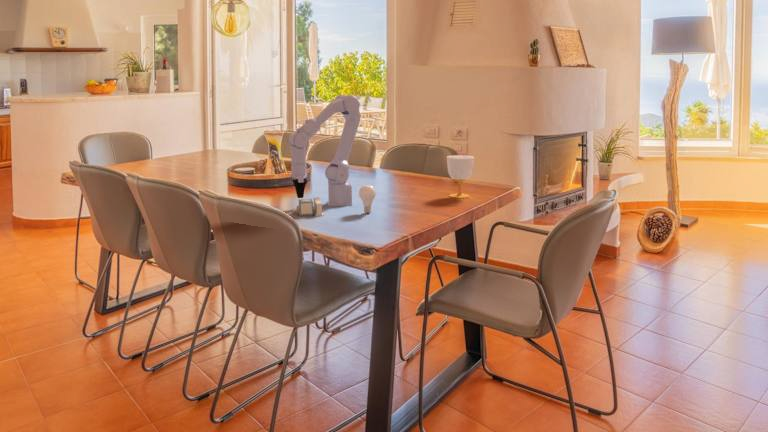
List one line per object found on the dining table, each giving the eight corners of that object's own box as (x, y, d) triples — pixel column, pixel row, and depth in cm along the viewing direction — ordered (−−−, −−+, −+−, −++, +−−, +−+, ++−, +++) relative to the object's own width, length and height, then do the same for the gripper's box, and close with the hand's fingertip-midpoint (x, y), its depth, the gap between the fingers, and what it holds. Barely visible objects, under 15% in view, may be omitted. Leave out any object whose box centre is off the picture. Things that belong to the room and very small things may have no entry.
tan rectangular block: (320, 210, 248) (320, 197, 247) (323, 216, 237) (323, 203, 236) (312, 210, 248) (312, 197, 247) (315, 216, 237) (315, 203, 236)
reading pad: (311, 213, 243) (311, 211, 243) (312, 216, 237) (312, 215, 237) (298, 213, 242) (298, 212, 242) (299, 217, 236) (299, 215, 236)
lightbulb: (362, 215, 238) (362, 187, 236) (356, 212, 244) (356, 184, 242) (378, 214, 241) (378, 185, 238) (372, 211, 246) (371, 183, 244)
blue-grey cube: (312, 211, 243) (311, 198, 241) (313, 214, 238) (312, 201, 237) (298, 212, 242) (298, 199, 240) (299, 215, 237) (299, 201, 236)
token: (308, 211, 246) (308, 205, 245) (304, 213, 242) (304, 207, 241) (298, 210, 247) (298, 205, 246) (294, 212, 243) (294, 207, 242)
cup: (443, 193, 280) (444, 155, 276) (469, 193, 282) (470, 155, 278) (448, 199, 269) (449, 159, 265) (476, 198, 270) (477, 158, 266)
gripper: (287, 161, 253) (288, 194, 256) (289, 166, 239) (291, 201, 242) (305, 160, 254) (306, 193, 257) (308, 165, 240) (309, 200, 243)
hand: (300, 197), depth 250 cm, fingers closed
